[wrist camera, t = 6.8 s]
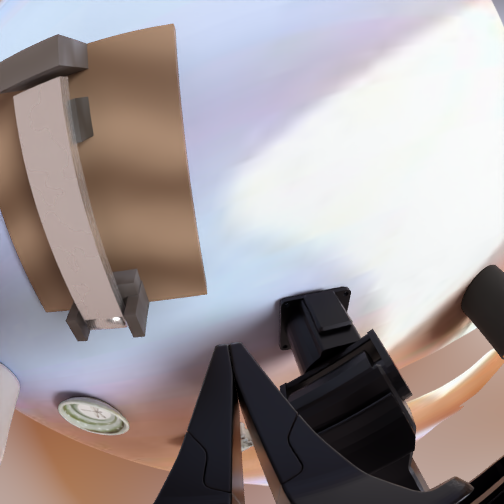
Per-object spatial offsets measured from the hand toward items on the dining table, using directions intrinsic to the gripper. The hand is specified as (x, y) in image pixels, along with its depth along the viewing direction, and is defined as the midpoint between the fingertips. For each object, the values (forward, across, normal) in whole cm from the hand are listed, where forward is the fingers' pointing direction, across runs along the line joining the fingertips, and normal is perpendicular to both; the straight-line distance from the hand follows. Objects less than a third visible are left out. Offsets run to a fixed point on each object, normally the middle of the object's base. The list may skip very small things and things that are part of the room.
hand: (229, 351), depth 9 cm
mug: (+12, -36, +17) cm, 42 cm away
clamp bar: (+9, +8, -2) cm, 12 cm away
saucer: (+12, +19, +24) cm, 33 cm away
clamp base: (+12, +8, -3) cm, 15 cm away
